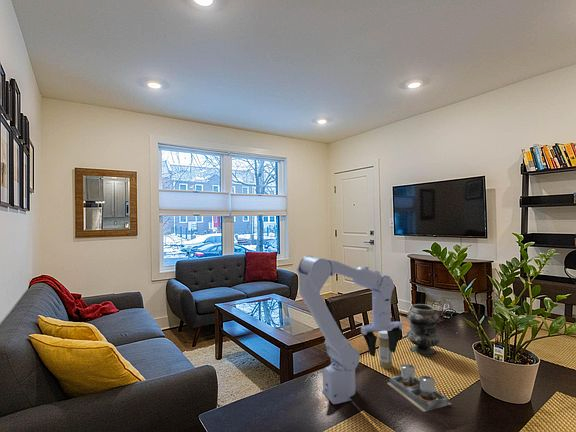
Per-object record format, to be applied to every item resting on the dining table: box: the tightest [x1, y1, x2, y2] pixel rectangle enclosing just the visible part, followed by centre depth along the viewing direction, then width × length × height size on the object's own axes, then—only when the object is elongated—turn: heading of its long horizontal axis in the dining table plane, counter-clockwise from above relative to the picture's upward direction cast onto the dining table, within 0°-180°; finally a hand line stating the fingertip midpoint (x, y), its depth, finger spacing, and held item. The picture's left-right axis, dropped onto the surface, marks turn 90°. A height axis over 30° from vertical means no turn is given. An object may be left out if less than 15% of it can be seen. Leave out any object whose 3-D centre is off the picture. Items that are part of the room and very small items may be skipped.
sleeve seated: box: [400, 363, 416, 388], centre depth 99 cm, size 5×5×6 cm
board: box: [386, 374, 452, 412], centre depth 95 cm, size 10×16×3 cm, turn 19°
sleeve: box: [419, 375, 436, 403], centre depth 91 cm, size 5×5×6 cm
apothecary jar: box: [406, 303, 441, 358], centre depth 127 cm, size 12×12×18 cm
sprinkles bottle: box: [377, 331, 393, 370], centre depth 113 cm, size 5×5×13 cm
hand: (382, 353), depth 103 cm, fingers open, 7 cm apart
